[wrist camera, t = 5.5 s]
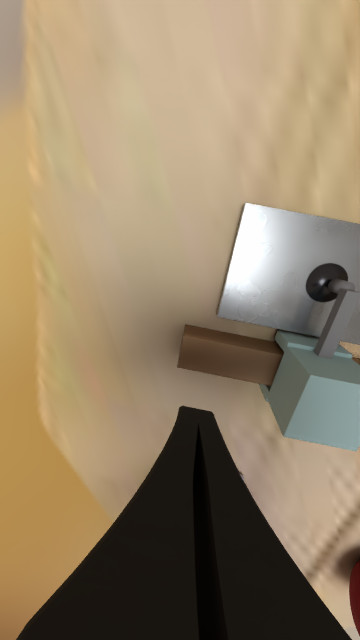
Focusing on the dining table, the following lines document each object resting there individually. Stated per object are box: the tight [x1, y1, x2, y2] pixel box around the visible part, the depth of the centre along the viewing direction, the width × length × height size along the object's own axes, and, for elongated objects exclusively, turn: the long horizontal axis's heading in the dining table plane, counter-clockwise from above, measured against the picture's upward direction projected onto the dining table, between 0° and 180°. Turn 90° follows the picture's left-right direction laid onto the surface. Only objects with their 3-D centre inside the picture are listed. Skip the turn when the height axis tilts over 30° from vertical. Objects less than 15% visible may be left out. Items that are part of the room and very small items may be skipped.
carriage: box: [259, 279, 360, 451], centre depth 13 cm, size 9×4×5 cm, turn 170°
